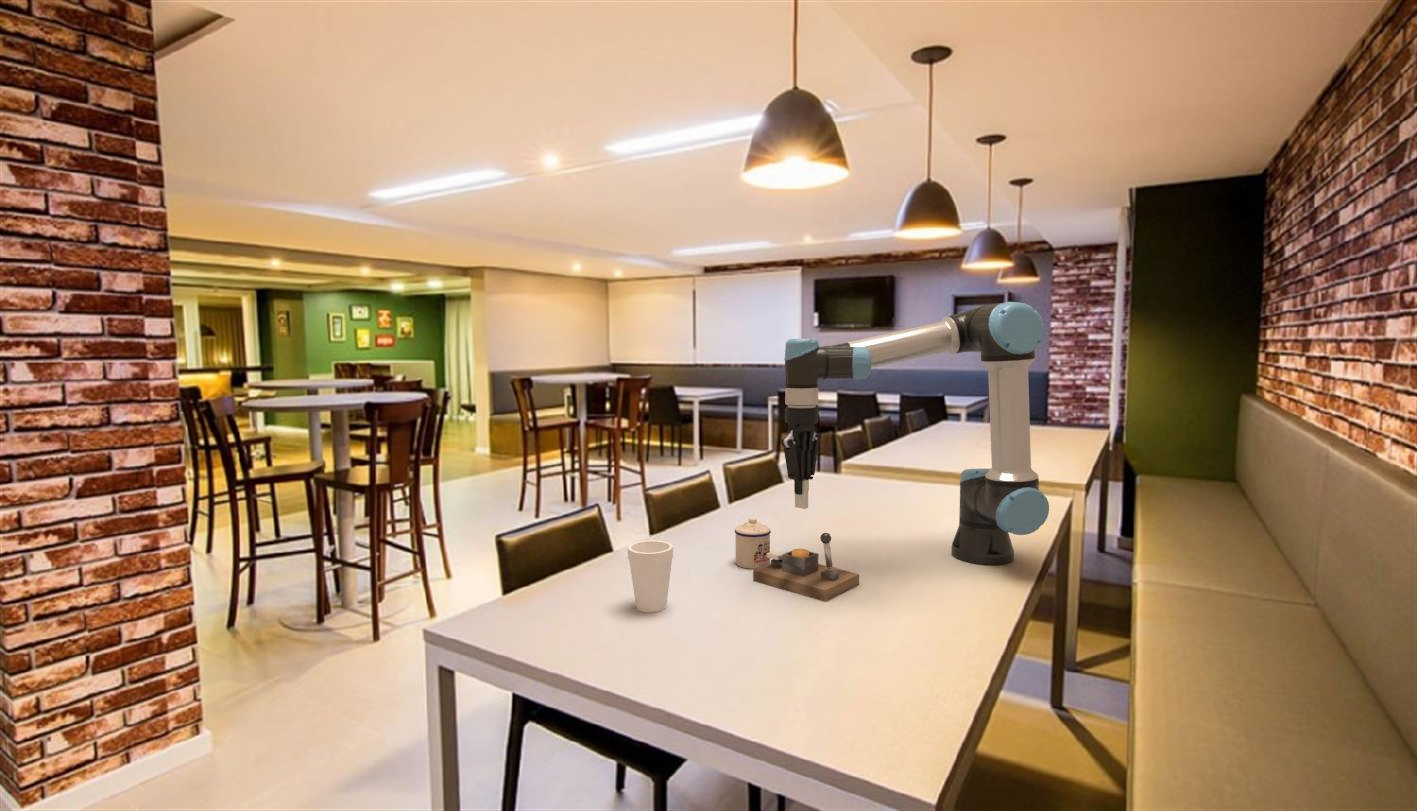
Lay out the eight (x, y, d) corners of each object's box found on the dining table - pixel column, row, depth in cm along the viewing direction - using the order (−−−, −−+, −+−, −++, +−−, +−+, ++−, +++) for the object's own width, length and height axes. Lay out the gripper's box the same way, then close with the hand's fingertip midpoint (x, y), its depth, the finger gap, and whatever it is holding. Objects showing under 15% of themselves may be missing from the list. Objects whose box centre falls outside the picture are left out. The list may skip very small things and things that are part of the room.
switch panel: (859, 584, 159) (859, 557, 158) (825, 601, 148) (826, 572, 148) (788, 566, 172) (788, 540, 172) (753, 580, 162) (753, 553, 161)
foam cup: (638, 618, 140) (637, 556, 139) (622, 603, 148) (621, 544, 147) (680, 610, 144) (680, 549, 143) (663, 595, 152) (662, 538, 151)
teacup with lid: (758, 572, 168) (758, 525, 167) (727, 565, 173) (727, 519, 172) (782, 559, 178) (783, 515, 177) (752, 553, 183) (752, 510, 182)
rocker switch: (792, 558, 166) (793, 554, 166) (777, 560, 162) (777, 555, 162) (782, 555, 168) (782, 551, 168) (766, 557, 164) (766, 552, 164)
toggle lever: (837, 567, 156) (832, 532, 153) (831, 572, 154) (826, 536, 152) (828, 565, 157) (823, 530, 155) (822, 569, 155) (817, 534, 153)
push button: (812, 563, 161) (812, 551, 161) (802, 567, 158) (802, 554, 158) (798, 560, 164) (798, 547, 163) (788, 563, 161) (788, 551, 161)
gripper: (804, 403, 165) (804, 500, 167) (771, 407, 155) (771, 510, 157) (831, 404, 160) (830, 504, 162) (798, 409, 150) (798, 515, 152)
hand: (801, 507), depth 160 cm, fingers closed
